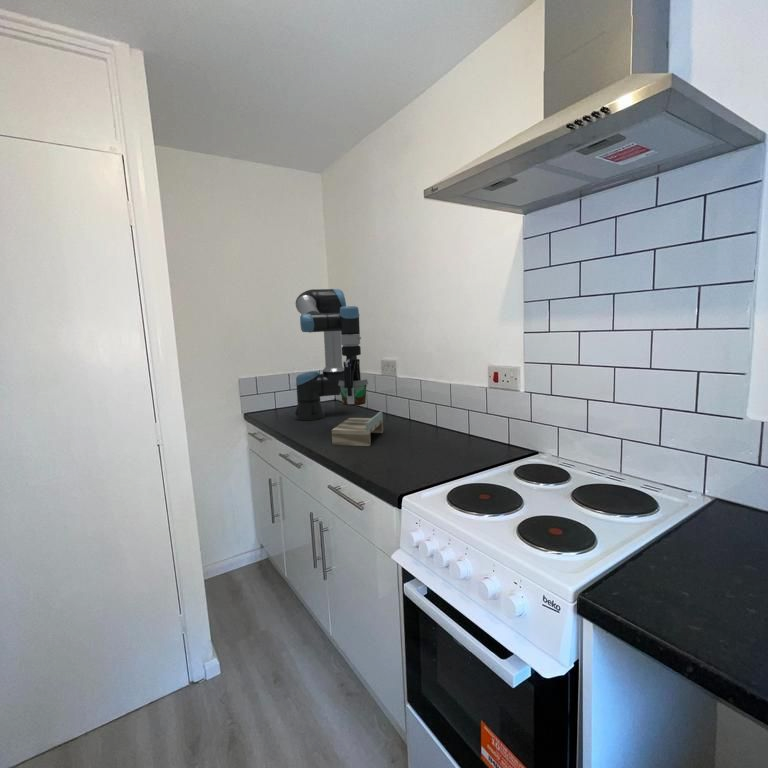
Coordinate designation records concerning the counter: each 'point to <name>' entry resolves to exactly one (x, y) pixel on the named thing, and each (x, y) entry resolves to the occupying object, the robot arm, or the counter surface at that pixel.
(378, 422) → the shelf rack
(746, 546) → the counter surface
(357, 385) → the food container
